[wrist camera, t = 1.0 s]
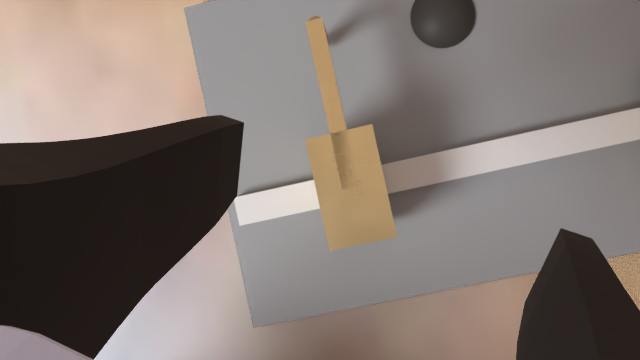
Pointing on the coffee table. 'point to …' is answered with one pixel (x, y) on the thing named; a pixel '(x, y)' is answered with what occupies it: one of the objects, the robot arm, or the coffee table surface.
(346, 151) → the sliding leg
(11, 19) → the coffee table surface
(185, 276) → the coffee table surface
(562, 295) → the robot arm
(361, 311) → the coffee table surface
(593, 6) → the pitch plate
